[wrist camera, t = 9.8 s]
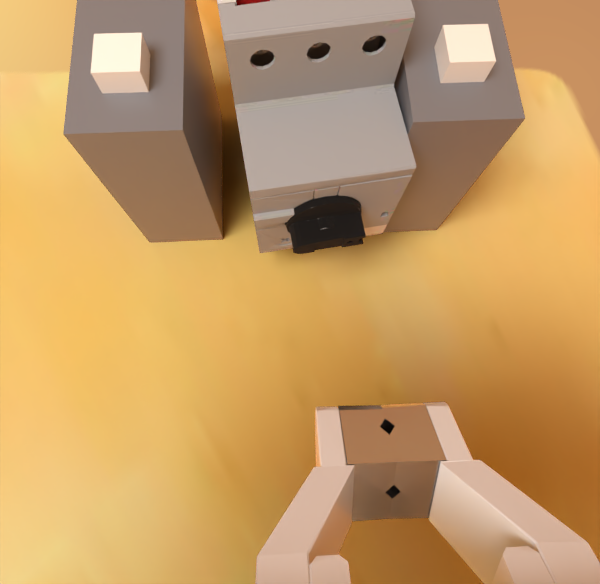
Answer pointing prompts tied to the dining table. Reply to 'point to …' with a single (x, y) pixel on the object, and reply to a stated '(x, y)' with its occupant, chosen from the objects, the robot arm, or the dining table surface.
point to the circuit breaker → (319, 116)
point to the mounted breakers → (208, 121)
